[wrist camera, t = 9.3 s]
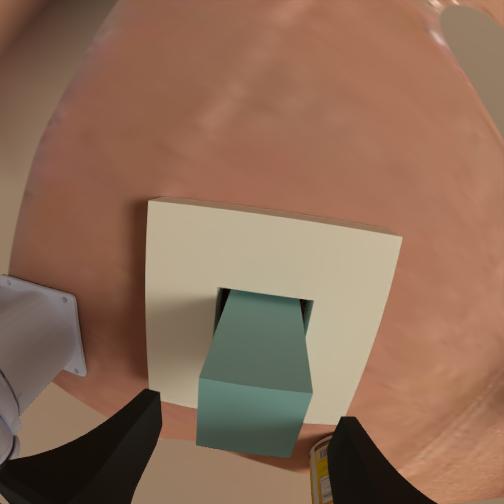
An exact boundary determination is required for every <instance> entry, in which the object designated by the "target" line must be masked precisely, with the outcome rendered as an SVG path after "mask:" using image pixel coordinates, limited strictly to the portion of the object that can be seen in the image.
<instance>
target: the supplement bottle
mask: <svg viewBox="0 0 504 504" xmlns="http://www.w3.org/2000/svg"><path fill="white" fill-rule="evenodd" d="M332 436H333V435H331V436H328V437H326V438H324V439H322V440H320V441H319V442H317V443H316V444H315V445H314V446H313V447H312V449H311V451H310V453H309V466H310V480H311V495H312V504H333V499H332V493H331V486H330V480H329V474H328V463H327V446H328V444H329V442H330V440H331V438H332Z"/></svg>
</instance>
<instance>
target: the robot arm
mask: <svg viewBox="0 0 504 504" xmlns="http://www.w3.org/2000/svg"><path fill="white" fill-rule="evenodd" d="M0 285H1V286H0V494H1V495H2V496H3V497H4V498H5V499H6V500H7V501H8V502H9V504H131V501H132V498H133V494H134V491H135V489H136V487H137V484H138V482H139V480H140V478H141V475H142V474H143V472H144V469H145V467H146V465H147V463H148V461H149V459H150V457H151V455H152V453H153V451H154V448H155V446H156V443H157V441H158V438H159V434H160V431H161V428H162V413H161V399H160V392H158V391H154V390H150V389H144V390H143V391H142V392H140V393H139V394H138V395H137V396H136V397H135V398H134V399H133V400H131V401H130V402H129V403H128V404H127V405H126V406H124V407H123V408H122V409H121V410H119V411H118V412H117V413H116V414H114V415H113V416H112V417H111V418H109V419H108V420H107V421H105V422H103V423H102V424H101V425H99V426H98V427H96V428H95V429H93V430H91V431H90V432H88V433H87V434H85V435H83V436H81V437H79V438H77V439H76V440H73V441H71V442H69V443H67V444H65V445H63V446H60V447H58V448H55V449H52V450H49V451H46V452H43V453H40V454H36V455H33V456H29V457H23V458H18V456H19V452H20V442H19V439H18V436H17V435H16V434H17V433H18V432H19V430H20V429H21V428H22V427H23V424H22V423H21V421H20V419H19V416H20V415H21V414H22V413H23V412H24V411H25V409H26V408H27V407H28V406H29V405H30V404H31V403H32V402H33V401H34V400H35V398H36V397H37V396H38V395H39V394H40V393H41V392H42V391H43V390H44V389H45V388H46V386H47V385H48V384H49V383H50V382H51V381H52V380H53V379H54V378H55V377H56V376H57V375H58V374H59V373H60V371H61V370H62V369H63V370H66V371H68V372H71V373H74V374H76V375H79V376H82V377H85V376H86V375H87V369H86V364H85V358H84V353H83V347H82V340H81V334H80V327H79V319H78V311H77V302H76V298H75V296H74V295H72V294H70V293H66V292H62V291H59V290H55V289H52V288H48V287H45V286H41V285H38V284H34V283H31V282H28V281H24V280H21V279H18V278H14V277H11V276H8V275H5V274H3V275H1V276H0ZM65 298H66V300H67V301H66V300H65ZM327 463H328V474H329V480H330V486H331V493H332V499H333V504H437V503H436V502H434V501H433V500H431V499H429V498H428V497H427V496H425V495H424V494H423V493H421V492H420V491H419V490H417V489H416V488H415V487H414V486H412V485H411V484H410V483H409V482H408V481H407V480H406V479H405V478H404V477H402V476H401V475H400V474H399V473H398V472H397V471H396V469H395V468H394V467H393V466H392V465H391V464H390V463H389V462H388V460H387V459H386V458H385V457H384V455H383V454H382V453H381V452H380V450H379V449H378V448H377V446H376V445H375V444H374V442H373V441H372V440H371V438H370V437H369V435H368V434H367V433H366V431H365V430H364V428H363V427H362V425H361V424H360V423H359V421H358V420H357V418H356V417H346V416H341V418H340V420H339V422H338V425H337V427H336V429H335V431H334V434H333V436H332V438H331V440H330V442H329V444H328V446H327ZM0 504H1V503H0Z"/></svg>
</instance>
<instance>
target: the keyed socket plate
mask: <svg viewBox="0 0 504 504" xmlns="http://www.w3.org/2000/svg"><path fill="white" fill-rule="evenodd" d="M402 238H403V237H402V236H400V235H398V234H397V233H395V232H393V231H392V230H390V229H388V228H384V227H378V226H373V225H367V224H361V223H355V222H350V221H344V220H338V219H332V218H325V217H319V216H313V215H306V214H300V213H293V212H286V211H280V210H273V209H266V208H258V207H251V206H243V205H236V204H228V203H220V202H212V201H203V200H195V199H186V198H177V197H167V196H163V197H159V198H156V199H152V200H149V201H148V216H147V235H146V270H145V309H146V343H147V362H148V377H149V389H150V390H154V391H158V392H160V399H161V401H165V402H169V403H173V404H177V405H182V406H186V407H191V408H196V409H197V407H198V384H199V376H200V373H201V370H202V367H203V365H204V362H205V359H206V356H207V354H208V351H209V348H210V345H211V343H212V340H213V337H214V335H215V332H216V329H217V326H218V324H219V321H220V312H221V302H222V292H223V288H229V289H235V290H242V291H249V292H255V293H262V294H269V295H277V296H284V297H291V298H299V299H306V305H305V310H304V315H303V326H304V332H305V339H306V346H307V353H308V360H309V367H310V374H311V381H312V389H313V395H312V398H311V401H310V404H309V407H308V410H307V413H306V416H305V419H304V421H303V423H310V424H330V425H338V422H339V420H340V418H341V416H345V415H346V413H347V410H348V408H349V406H350V403H351V401H352V398H353V396H354V394H355V391H356V389H357V386H358V384H359V381H360V378H361V376H362V373H363V371H364V368H365V365H366V362H367V360H368V357H369V354H370V351H371V348H372V345H373V342H374V340H375V337H376V333H377V330H378V327H379V324H380V321H381V318H382V315H383V311H384V308H385V304H386V301H387V298H388V294H389V290H390V287H391V283H392V279H393V275H394V272H395V268H396V264H397V259H398V255H399V251H400V247H401V242H402Z"/></svg>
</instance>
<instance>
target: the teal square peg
mask: <svg viewBox="0 0 504 504" xmlns="http://www.w3.org/2000/svg"><path fill="white" fill-rule="evenodd" d="M312 395H313V389H312V381H311V374H310V367H309V360H308V353H307V346H306V339H305V332H304V326H303V319H302V313H301V306H300V300H299V298H291V297H284V296H277V295H269V294H262V293H255V292H249V291H242V290H235V289H231V291H230V294H229V296H228V299H227V302H226V304H225V307H224V310H223V313H222V315H221V318H220V321H219V324H218V326H217V329H216V332H215V335H214V337H213V340H212V343H211V345H210V348H209V351H208V354H207V356H206V359H205V362H204V365H203V367H202V370H201V373H200V376H199V384H198V407H197V437H196V445H199V446H204V447H209V448H214V449H220V450H226V451H232V452H239V453H246V454H254V455H262V456H272V457H284V458H290V456H291V454H292V451H293V449H294V446H295V443H296V441H297V438H298V435H299V432H300V430H301V427H302V424H303V421H304V419H305V416H306V413H307V410H308V407H309V404H310V401H311V398H312Z"/></svg>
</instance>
